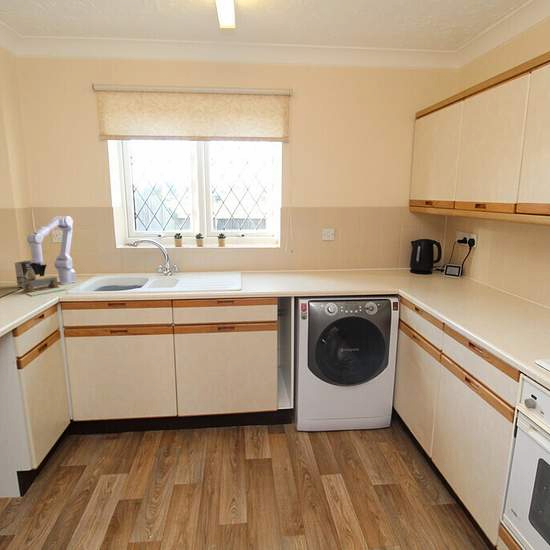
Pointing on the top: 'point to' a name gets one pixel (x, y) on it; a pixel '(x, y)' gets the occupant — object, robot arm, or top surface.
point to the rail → (39, 282)
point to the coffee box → (24, 272)
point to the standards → (51, 286)
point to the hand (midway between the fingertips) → (39, 275)
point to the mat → (46, 291)
